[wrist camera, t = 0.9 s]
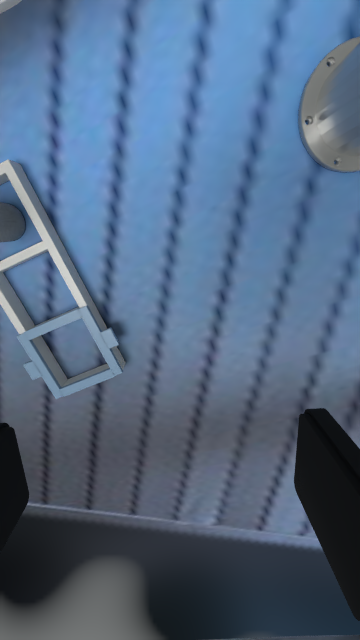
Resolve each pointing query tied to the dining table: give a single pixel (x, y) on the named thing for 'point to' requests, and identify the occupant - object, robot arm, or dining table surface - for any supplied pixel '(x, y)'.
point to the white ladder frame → (87, 310)
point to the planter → (10, 223)
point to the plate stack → (7, 4)
